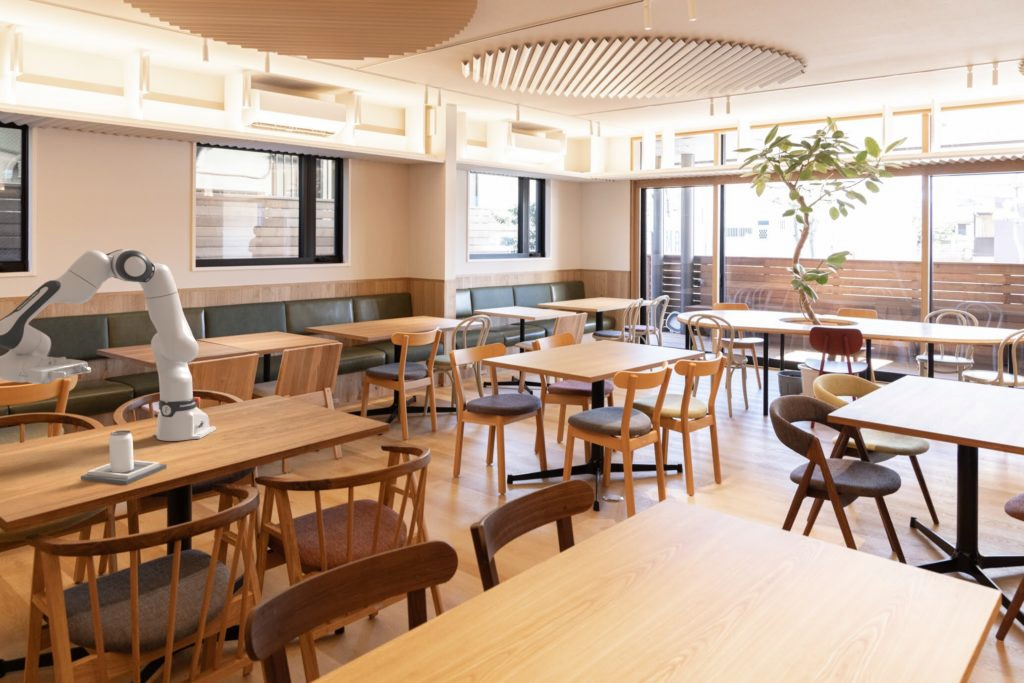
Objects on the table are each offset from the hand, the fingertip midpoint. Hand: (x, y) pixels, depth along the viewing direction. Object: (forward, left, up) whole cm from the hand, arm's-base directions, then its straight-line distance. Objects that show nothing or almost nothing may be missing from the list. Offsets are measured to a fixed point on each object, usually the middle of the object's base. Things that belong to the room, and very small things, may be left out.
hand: (78, 372), depth 250 cm
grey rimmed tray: (+4, +19, -30) cm, 36 cm away
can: (+5, +19, -29) cm, 35 cm away
